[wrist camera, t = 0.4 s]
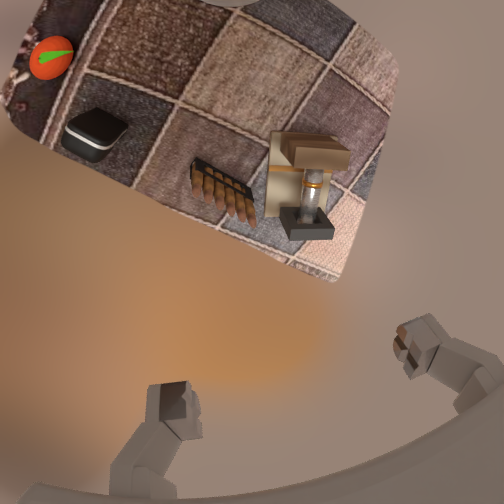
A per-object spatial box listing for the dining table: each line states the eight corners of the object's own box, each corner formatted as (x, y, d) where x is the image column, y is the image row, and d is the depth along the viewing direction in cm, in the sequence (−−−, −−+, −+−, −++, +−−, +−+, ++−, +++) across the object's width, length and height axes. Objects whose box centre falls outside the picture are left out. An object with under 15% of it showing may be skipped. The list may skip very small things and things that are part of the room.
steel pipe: (303, 149, 40) (310, 156, 38) (323, 151, 41) (330, 157, 38) (292, 228, 48) (297, 238, 46) (310, 227, 49) (315, 238, 46)
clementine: (87, 31, 28) (68, 27, 22) (85, 72, 32) (66, 74, 26) (44, 42, 26) (21, 42, 20) (43, 81, 30) (20, 87, 25)
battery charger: (84, 126, 37) (52, 147, 28) (95, 105, 35) (63, 120, 26) (119, 145, 40) (95, 171, 31) (130, 125, 38) (108, 145, 29)
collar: (280, 206, 48) (291, 229, 42) (319, 206, 49) (335, 228, 43) (279, 217, 49) (289, 240, 43) (317, 216, 50) (332, 239, 44)
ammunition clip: (251, 188, 48) (264, 225, 39) (244, 197, 49) (255, 235, 39) (195, 156, 43) (193, 187, 34) (189, 166, 44) (185, 199, 35)
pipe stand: (270, 130, 43) (285, 146, 35) (335, 135, 44) (360, 152, 37) (263, 214, 51) (274, 243, 44) (321, 213, 53) (340, 240, 46)
